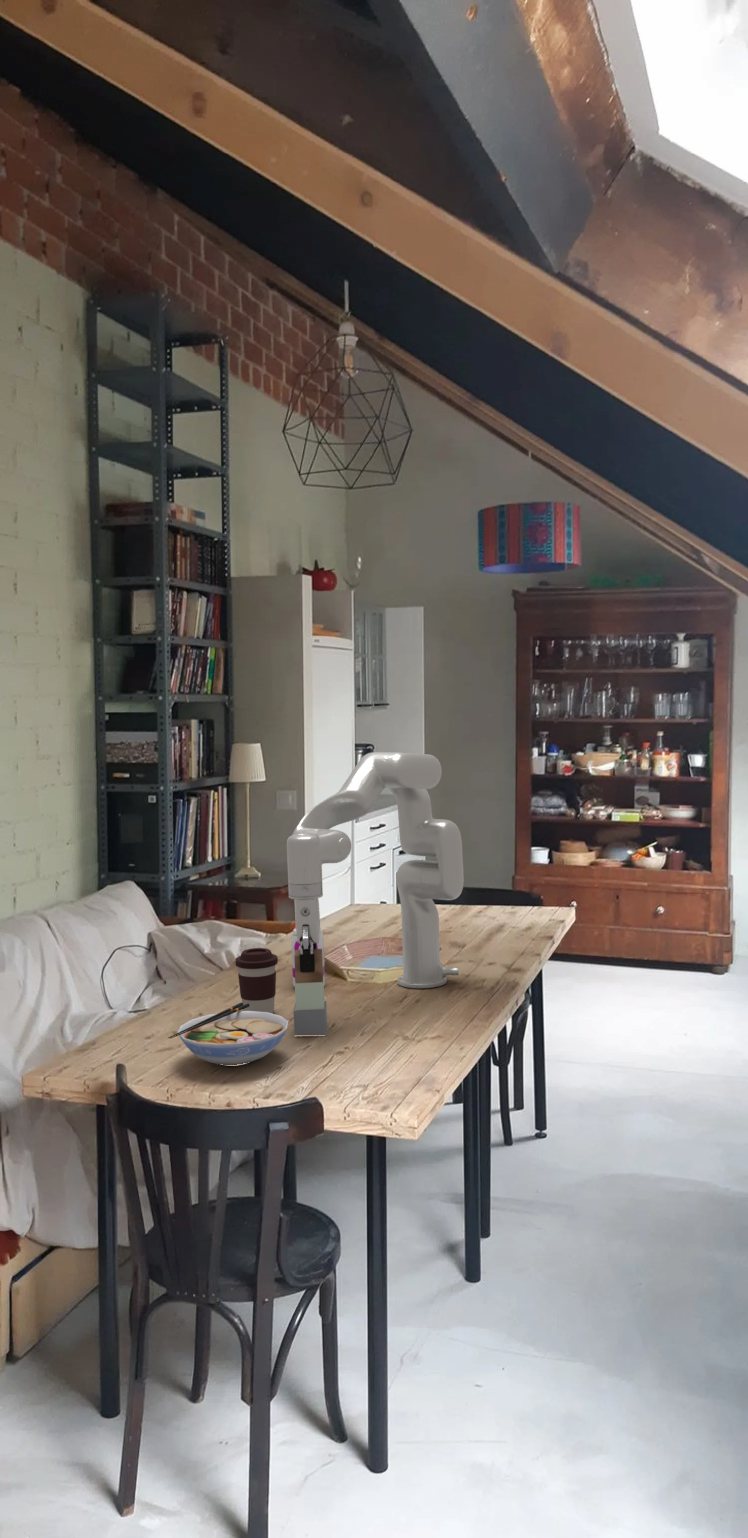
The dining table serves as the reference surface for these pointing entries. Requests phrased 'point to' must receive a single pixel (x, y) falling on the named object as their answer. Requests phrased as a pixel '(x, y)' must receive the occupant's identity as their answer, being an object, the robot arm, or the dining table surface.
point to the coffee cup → (257, 979)
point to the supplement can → (296, 946)
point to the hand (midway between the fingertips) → (308, 966)
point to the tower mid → (309, 996)
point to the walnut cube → (309, 976)
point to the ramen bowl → (233, 1035)
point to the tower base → (310, 1021)
